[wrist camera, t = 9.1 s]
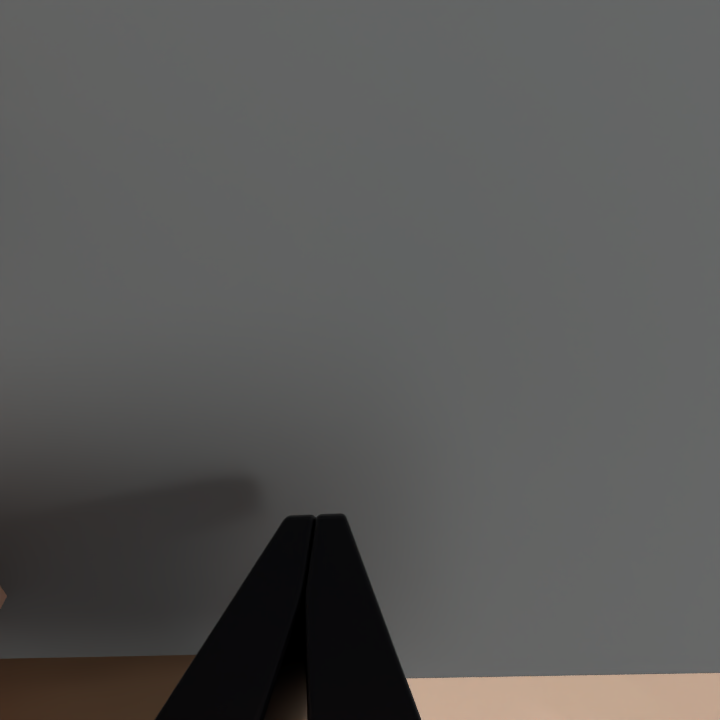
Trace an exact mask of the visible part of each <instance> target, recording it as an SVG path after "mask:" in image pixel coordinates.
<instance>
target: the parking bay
mask: <svg viewBox="0 0 720 720" xmlns="http://www.w3.org/2000/svg"><path fill="white" fill-rule="evenodd" d="M195 656H196V655H162V656H111V657H60V658H9V659H0V720H155V718H156V716H157V715H158V713H159V712H160V710H161V709H162V707H163V706H164V704H165V703H166V701H167V699H168V698H169V696H170V695H171V693H172V692H173V690H174V689H175V687H176V685H177V684H178V682H179V681H180V679H181V678H182V676H183V675H184V673H185V672H186V670H187V668H188V667H189V665H190V664H191V662H192V661H193V659H194V658H195Z"/></svg>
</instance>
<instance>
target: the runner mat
mask: <svg viewBox="0 0 720 720" xmlns="http://www.w3.org/2000/svg"><path fill="white" fill-rule="evenodd" d="M332 513H343V514H344V515H345V516H346V517H347V520H348V522H349V525H350V528H351V530H352V533H353V536H354V539H355V541H356V544H357V547H358V549H359V552H360V555H361V558H362V560H363V563H364V566H365V568H366V571H367V574H368V577H369V579H370V582H371V585H372V587H373V590H374V593H375V596H376V598H377V601H378V604H379V606H380V609H381V612H382V615H383V617H384V620H385V623H386V625H387V628H388V631H389V634H390V636H391V639H392V642H393V644H394V647H395V650H396V653H397V655H398V658H399V661H400V663H401V666H402V669H403V672H404V674H405V677H406V678H449V677H506V676H563V675H620V674H677V673H720V0H0V586H1V588H2V589H3V591H4V592H5V594H6V595H7V597H6V599H5V601H4V603H3V605H2V607H1V609H0V659H9V658H60V657H111V656H162V655H196V654H197V653H198V651H199V650H200V648H201V647H202V645H203V644H204V642H205V641H206V639H207V637H208V636H209V634H210V633H211V631H212V630H213V628H214V627H215V625H216V623H217V622H218V620H219V619H220V617H221V616H222V614H223V613H224V611H225V610H226V608H227V606H228V605H229V603H230V602H231V600H232V599H233V597H234V596H235V594H236V592H237V591H238V589H239V588H240V586H241V585H242V583H243V582H244V580H245V579H246V577H247V575H248V574H249V572H250V571H251V569H252V568H253V566H254V565H255V563H256V561H257V560H258V558H259V557H260V555H261V554H262V552H263V551H264V549H265V548H266V546H267V544H268V543H269V541H270V540H271V538H272V537H273V535H274V534H275V532H276V531H277V529H278V527H279V526H280V524H281V523H282V521H283V520H284V519H285V518H286V517H287V516H289V515H306V514H311V515H314V516H315V517H317V516H318V515H320V514H332Z"/></svg>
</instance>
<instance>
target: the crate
mask: <svg viewBox="0 0 720 720" xmlns="http://www.w3.org/2000/svg"><path fill="white" fill-rule="evenodd" d="M6 597H7V595H6V594H5V592H4V591H3V589H2V588H1V586H0V609H1V607H2V605H3V603H4V601H5V599H6Z"/></svg>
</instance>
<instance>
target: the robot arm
mask: <svg viewBox="0 0 720 720" xmlns="http://www.w3.org/2000/svg"><path fill="white" fill-rule="evenodd" d="M155 720H421V718H420V715H419V712H418V710H417V707H416V704H415V701H414V699H413V696H412V693H411V691H410V688H409V685H408V682H407V680H406V677H405V674H404V672H403V669H402V666H401V663H400V661H399V658H398V655H397V653H396V650H395V647H394V644H393V642H392V639H391V636H390V634H389V631H388V628H387V625H386V623H385V620H384V617H383V615H382V612H381V609H380V606H379V604H378V601H377V598H376V596H375V593H374V590H373V587H372V585H371V582H370V579H369V577H368V574H367V571H366V568H365V566H364V563H363V560H362V558H361V555H360V552H359V549H358V547H357V544H356V541H355V539H354V536H353V533H352V530H351V528H350V525H349V522H348V520H347V517H346V516H345V515H344V514H343V513H332V514H320V515H318V516H317V517H315V516H314V515H311V514H306V515H289V516H287V517H286V518H285V519H284V520H283V521H282V523H281V524H280V526H279V527H278V529H277V531H276V532H275V534H274V535H273V537H272V538H271V540H270V541H269V543H268V544H267V546H266V548H265V549H264V551H263V552H262V554H261V555H260V557H259V558H258V560H257V561H256V563H255V565H254V566H253V568H252V569H251V571H250V572H249V574H248V575H247V577H246V579H245V580H244V582H243V583H242V585H241V586H240V588H239V589H238V591H237V592H236V594H235V596H234V597H233V599H232V600H231V602H230V603H229V605H228V606H227V608H226V610H225V611H224V613H223V614H222V616H221V617H220V619H219V620H218V622H217V623H216V625H215V627H214V628H213V630H212V631H211V633H210V634H209V636H208V637H207V639H206V641H205V642H204V644H203V645H202V647H201V648H200V650H199V651H198V653H197V654H196V656H195V658H194V659H193V661H192V662H191V664H190V665H189V667H188V668H187V670H186V672H185V673H184V675H183V676H182V678H181V679H180V681H179V682H178V684H177V685H176V687H175V689H174V690H173V692H172V693H171V695H170V696H169V698H168V699H167V701H166V703H165V704H164V706H163V707H162V709H161V710H160V712H159V713H158V715H157V716H156V718H155Z"/></svg>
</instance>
